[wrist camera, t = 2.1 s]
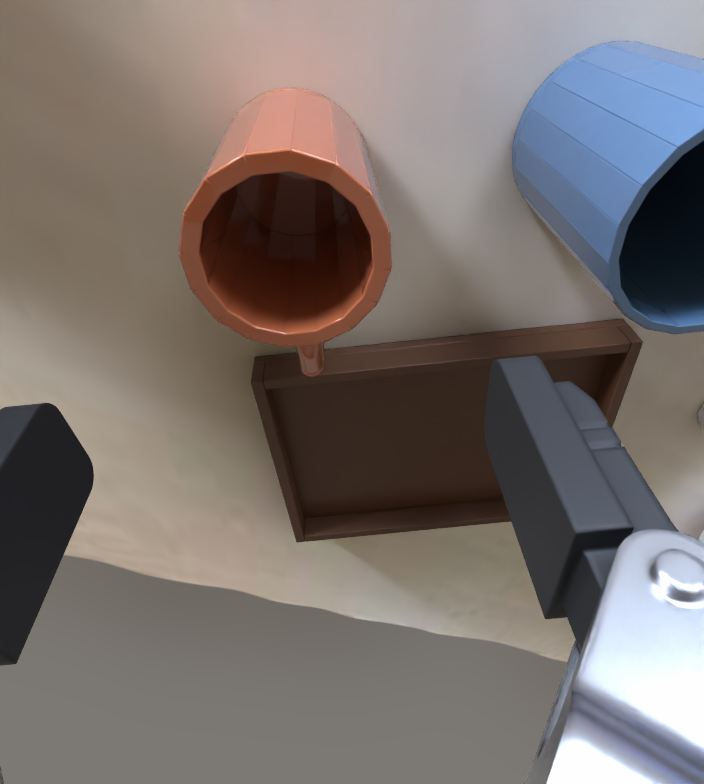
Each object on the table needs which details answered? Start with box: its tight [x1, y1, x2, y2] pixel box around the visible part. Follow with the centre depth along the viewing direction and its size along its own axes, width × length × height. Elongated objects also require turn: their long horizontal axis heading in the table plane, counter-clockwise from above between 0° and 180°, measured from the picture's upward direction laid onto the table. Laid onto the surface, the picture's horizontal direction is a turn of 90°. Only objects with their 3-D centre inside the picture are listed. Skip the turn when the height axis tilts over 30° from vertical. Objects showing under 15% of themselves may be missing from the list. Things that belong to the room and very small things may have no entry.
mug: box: [179, 88, 392, 377], centre depth 18 cm, size 8×6×8 cm
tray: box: [251, 319, 643, 542], centre depth 30 cm, size 19×14×2 cm
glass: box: [512, 41, 704, 334], centre depth 17 cm, size 6×6×9 cm
